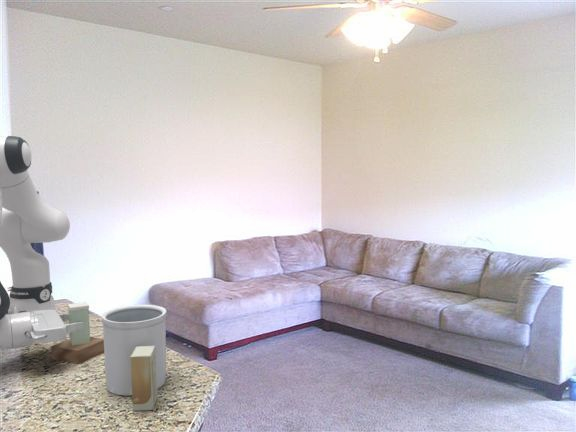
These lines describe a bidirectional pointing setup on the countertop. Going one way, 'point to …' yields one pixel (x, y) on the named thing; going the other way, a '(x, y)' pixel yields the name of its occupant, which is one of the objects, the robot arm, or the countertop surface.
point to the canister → (75, 315)
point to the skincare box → (143, 378)
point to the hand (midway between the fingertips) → (79, 320)
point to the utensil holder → (132, 343)
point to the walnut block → (77, 350)
